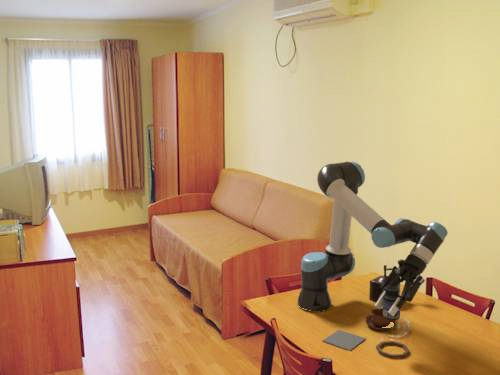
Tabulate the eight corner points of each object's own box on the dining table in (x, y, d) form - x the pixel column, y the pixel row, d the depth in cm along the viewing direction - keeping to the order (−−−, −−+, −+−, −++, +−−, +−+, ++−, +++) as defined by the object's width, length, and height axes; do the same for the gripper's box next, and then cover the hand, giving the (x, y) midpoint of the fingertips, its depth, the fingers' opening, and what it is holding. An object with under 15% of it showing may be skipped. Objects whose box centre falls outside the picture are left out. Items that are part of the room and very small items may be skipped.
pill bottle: (400, 321, 179) (401, 292, 177) (383, 320, 180) (383, 291, 178) (399, 314, 185) (400, 285, 183) (382, 313, 186) (382, 285, 184)
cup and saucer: (379, 335, 197) (379, 320, 196) (359, 323, 208) (359, 309, 206) (402, 328, 202) (402, 314, 201) (381, 317, 213) (382, 303, 212)
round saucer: (371, 351, 184) (371, 349, 184) (385, 340, 192) (385, 338, 192) (400, 361, 177) (400, 358, 176) (413, 349, 185) (413, 347, 185)
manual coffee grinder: (390, 306, 224) (391, 267, 221) (368, 300, 232) (369, 262, 229) (407, 296, 235) (408, 259, 232) (385, 290, 242) (386, 254, 239)
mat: (322, 341, 193) (322, 340, 193) (339, 330, 201) (339, 329, 201) (349, 351, 185) (349, 350, 185) (365, 339, 194) (365, 338, 194)
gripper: (444, 272, 179) (409, 326, 174) (403, 258, 195) (371, 306, 190) (434, 260, 175) (398, 315, 170) (394, 247, 192) (360, 296, 187)
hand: (384, 310), depth 180 cm, fingers closed on pill bottle, 6 cm apart
